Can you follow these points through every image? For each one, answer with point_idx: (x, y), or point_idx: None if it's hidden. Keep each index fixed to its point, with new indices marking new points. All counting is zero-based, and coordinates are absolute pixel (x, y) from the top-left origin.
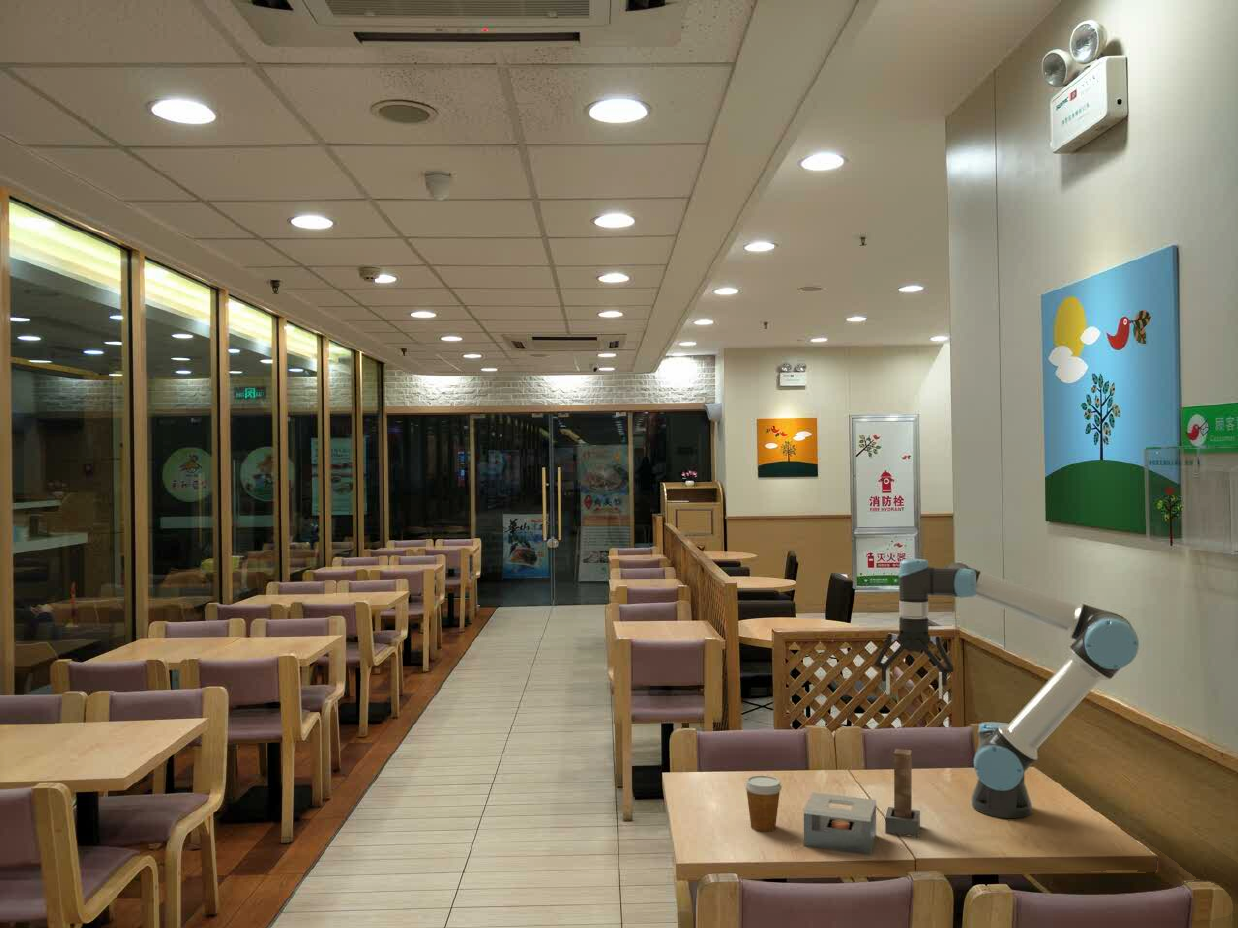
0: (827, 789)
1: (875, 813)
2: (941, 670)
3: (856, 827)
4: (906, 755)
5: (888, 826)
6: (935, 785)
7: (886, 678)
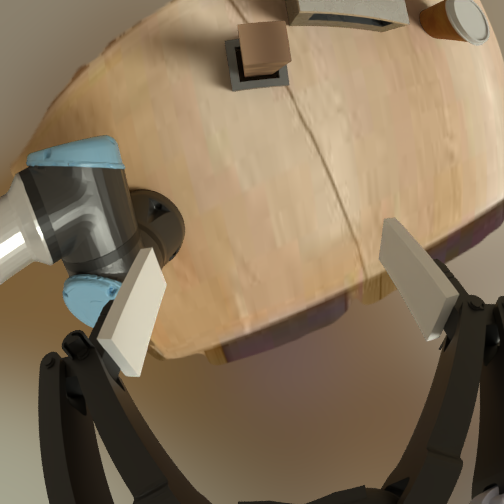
0: (391, 192)
1: (294, 6)
2: (93, 360)
3: None
4: (249, 24)
5: None
6: (249, 273)
7: (431, 262)
